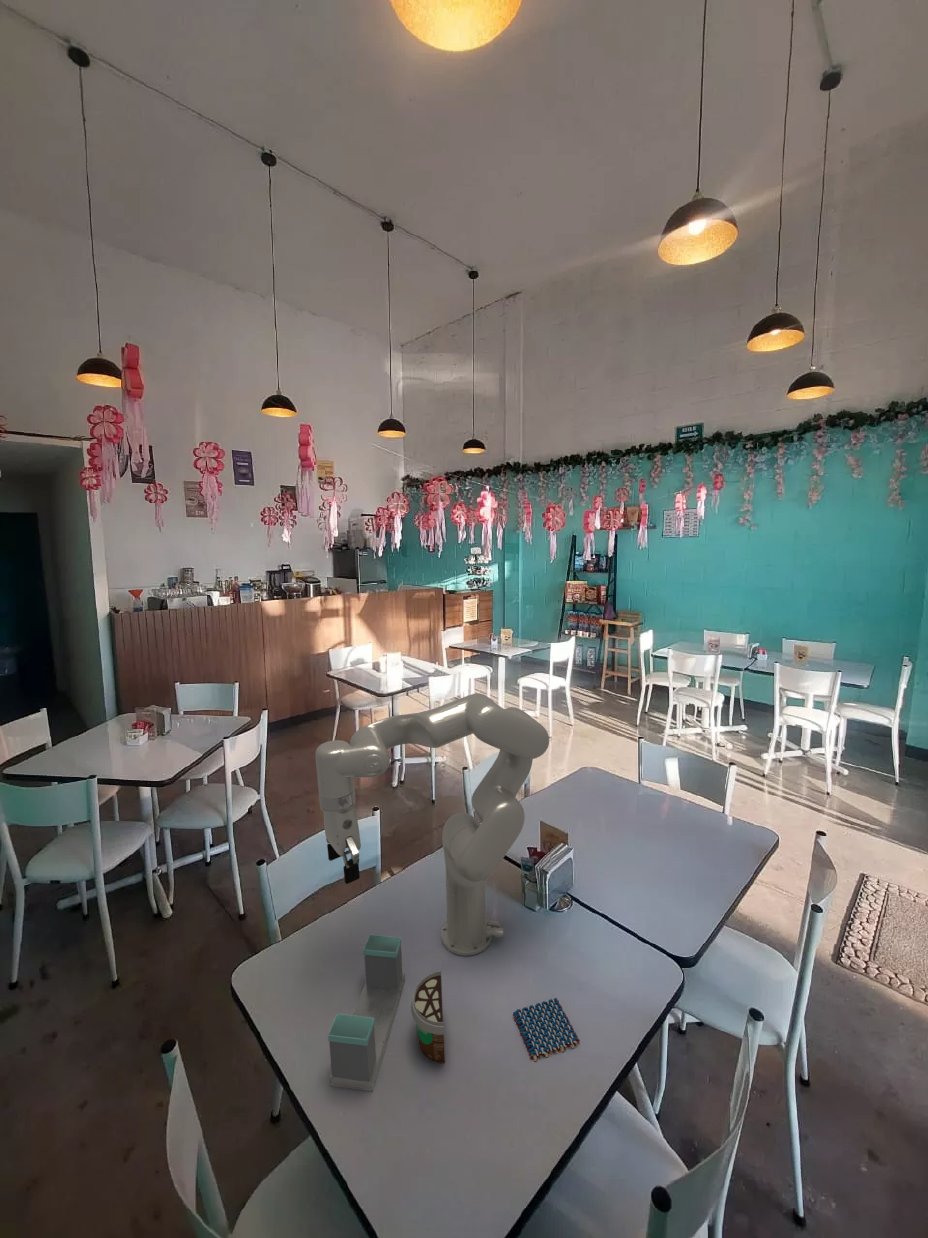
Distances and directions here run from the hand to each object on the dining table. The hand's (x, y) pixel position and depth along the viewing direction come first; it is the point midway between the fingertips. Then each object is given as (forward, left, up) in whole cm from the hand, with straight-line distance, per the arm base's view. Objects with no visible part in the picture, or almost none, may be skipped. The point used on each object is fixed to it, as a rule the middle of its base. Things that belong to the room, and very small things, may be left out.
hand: (343, 869), depth 113 cm
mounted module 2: (-9, +4, -24) cm, 26 cm away
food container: (-21, +14, -26) cm, 36 cm away
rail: (-9, +13, -26) cm, 30 cm away
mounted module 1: (-9, +23, -24) cm, 34 cm away
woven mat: (-44, +9, -26) cm, 52 cm away
